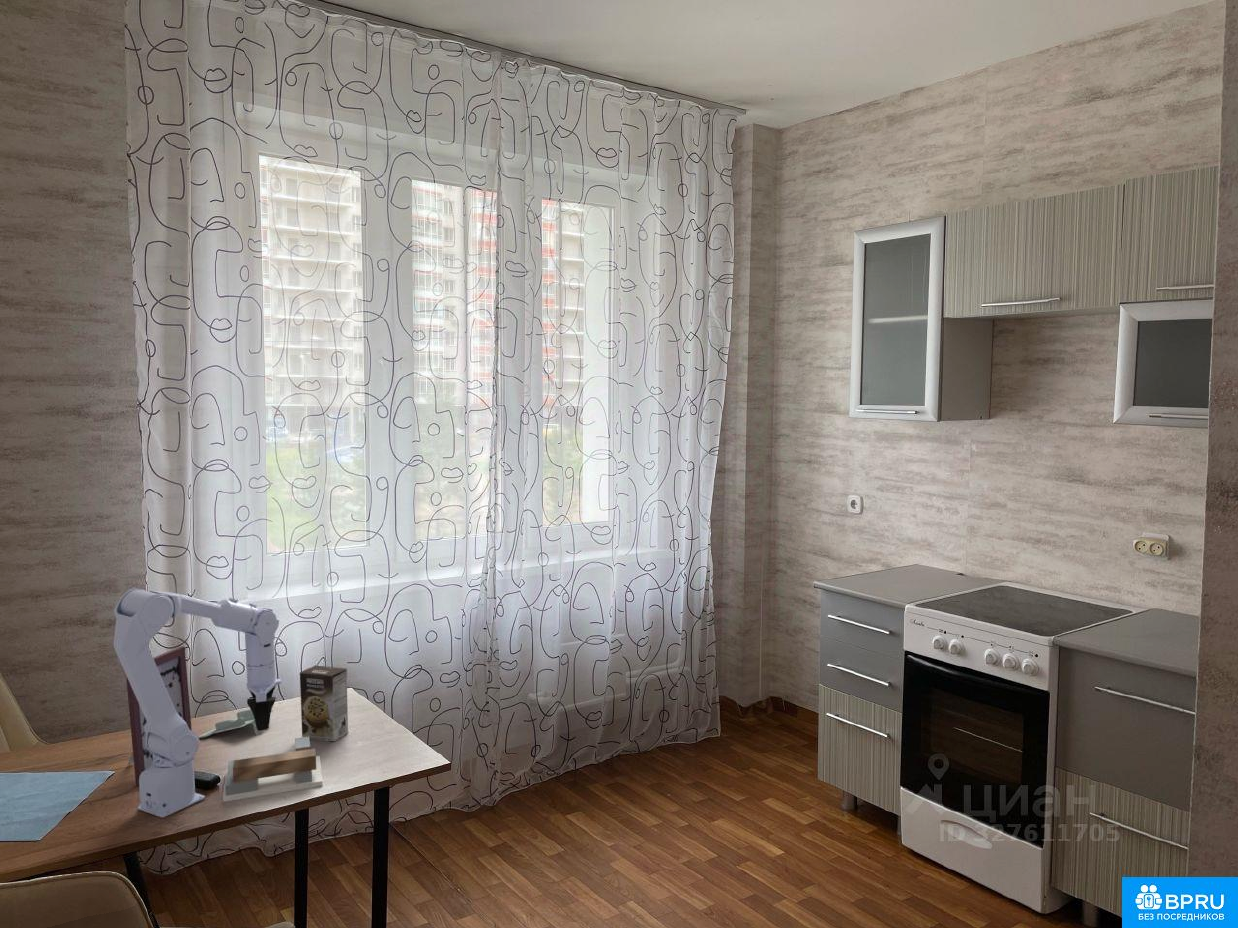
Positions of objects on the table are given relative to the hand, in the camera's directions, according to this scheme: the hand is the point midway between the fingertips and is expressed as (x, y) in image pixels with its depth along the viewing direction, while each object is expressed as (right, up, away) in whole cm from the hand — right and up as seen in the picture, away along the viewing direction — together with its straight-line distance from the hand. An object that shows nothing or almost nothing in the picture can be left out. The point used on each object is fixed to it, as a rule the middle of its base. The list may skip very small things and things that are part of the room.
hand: (263, 723), depth 192 cm
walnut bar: (+6, -8, -9) cm, 13 cm away
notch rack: (+5, -10, -6) cm, 13 cm away
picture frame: (-26, -10, +1) cm, 28 cm away
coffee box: (+7, -9, +18) cm, 22 cm away
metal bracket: (-15, -9, +23) cm, 29 cm away
